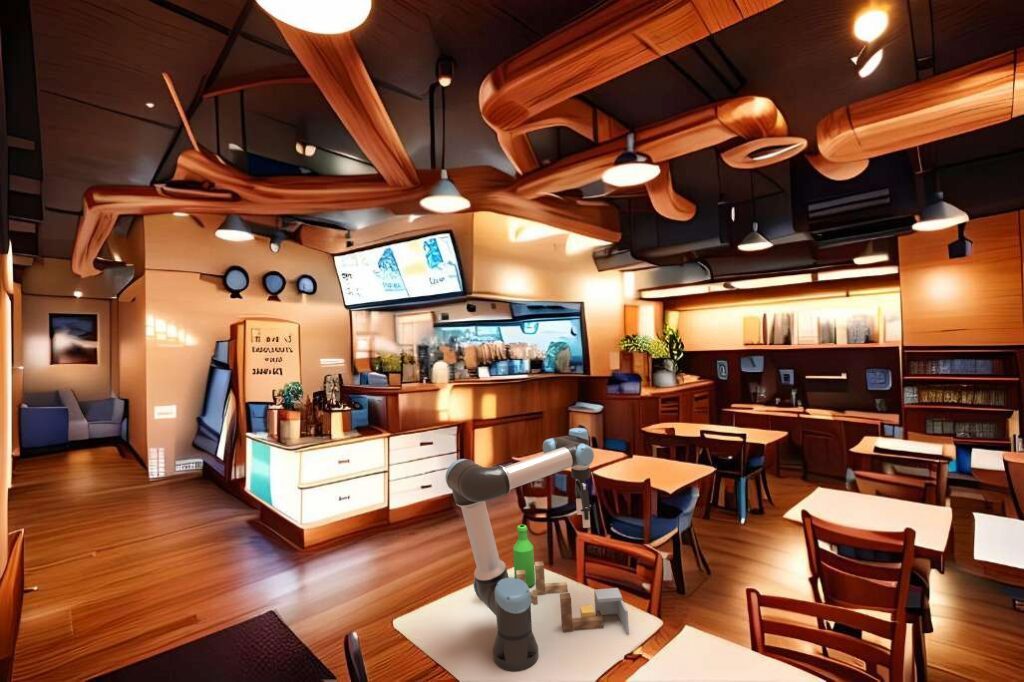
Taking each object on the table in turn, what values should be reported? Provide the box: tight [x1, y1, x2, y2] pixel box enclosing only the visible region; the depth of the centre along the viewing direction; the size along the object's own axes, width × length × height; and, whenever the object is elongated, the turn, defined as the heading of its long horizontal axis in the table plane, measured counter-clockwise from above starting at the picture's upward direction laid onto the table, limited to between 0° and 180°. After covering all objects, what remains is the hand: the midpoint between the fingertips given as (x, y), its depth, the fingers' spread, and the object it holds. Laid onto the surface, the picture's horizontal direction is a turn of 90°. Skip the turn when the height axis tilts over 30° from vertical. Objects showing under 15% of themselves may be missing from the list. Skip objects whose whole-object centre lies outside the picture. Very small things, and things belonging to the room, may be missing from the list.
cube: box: [579, 604, 596, 618], centre depth 176 cm, size 4×4×4 cm
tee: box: [516, 570, 539, 606], centre depth 191 cm, size 8×5×12 cm, turn 92°
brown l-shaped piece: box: [559, 592, 605, 633], centre depth 173 cm, size 15×6×12 cm, turn 92°
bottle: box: [512, 524, 536, 588], centre depth 205 cm, size 9×9×25 cm
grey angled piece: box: [593, 587, 630, 635], centre depth 173 cm, size 9×13×9 cm
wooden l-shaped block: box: [534, 561, 569, 596], centre depth 197 cm, size 13×4×12 cm, turn 92°
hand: (583, 520), depth 190 cm, fingers open, 13 cm apart
